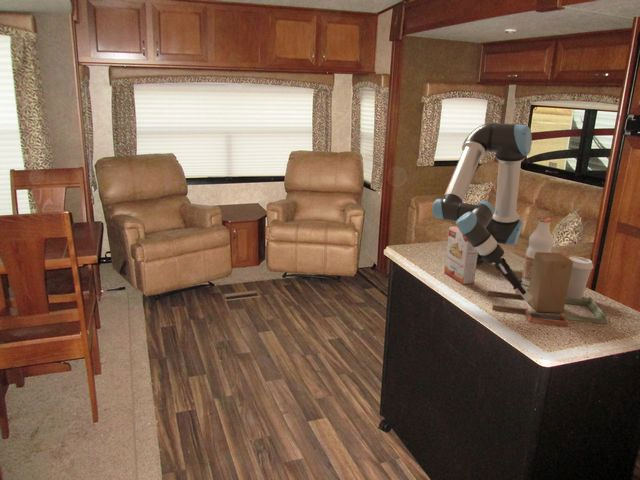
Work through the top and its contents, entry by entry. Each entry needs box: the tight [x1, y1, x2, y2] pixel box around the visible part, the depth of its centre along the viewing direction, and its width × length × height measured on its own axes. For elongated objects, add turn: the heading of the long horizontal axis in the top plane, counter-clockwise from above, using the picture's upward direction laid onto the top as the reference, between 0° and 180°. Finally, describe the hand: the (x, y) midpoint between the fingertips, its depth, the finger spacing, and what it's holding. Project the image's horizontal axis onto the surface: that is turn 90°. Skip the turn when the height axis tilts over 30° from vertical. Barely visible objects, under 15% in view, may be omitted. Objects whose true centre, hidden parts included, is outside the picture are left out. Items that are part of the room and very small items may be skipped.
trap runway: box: [487, 287, 607, 328], centre depth 181 cm, size 29×37×3 cm
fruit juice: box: [521, 216, 554, 287], centre depth 200 cm, size 9×9×28 cm
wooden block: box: [527, 252, 573, 314], centre depth 179 cm, size 10×10×20 cm
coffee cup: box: [566, 256, 594, 300], centre depth 191 cm, size 10×10×15 cm
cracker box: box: [444, 225, 478, 285], centre depth 204 cm, size 14×6×21 cm, turn 18°
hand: (529, 298), depth 180 cm, fingers closed
